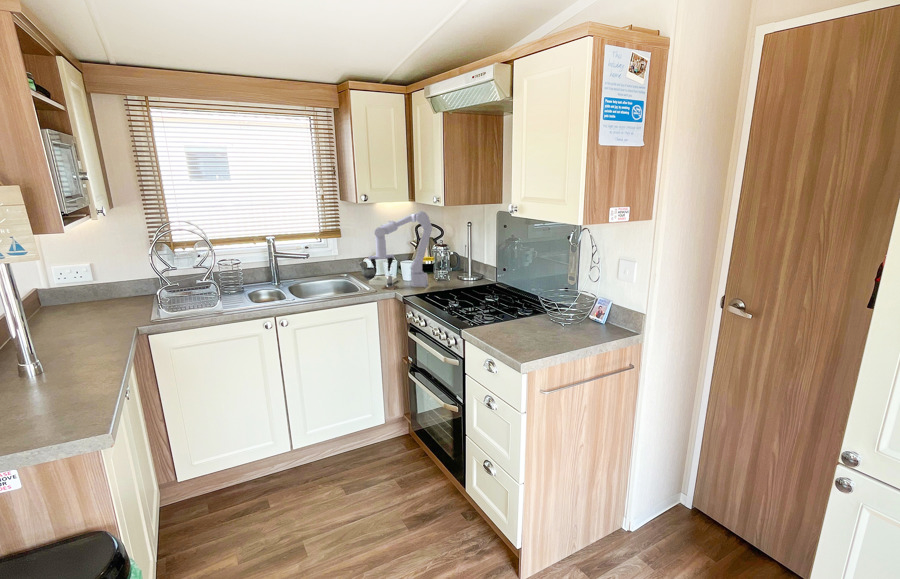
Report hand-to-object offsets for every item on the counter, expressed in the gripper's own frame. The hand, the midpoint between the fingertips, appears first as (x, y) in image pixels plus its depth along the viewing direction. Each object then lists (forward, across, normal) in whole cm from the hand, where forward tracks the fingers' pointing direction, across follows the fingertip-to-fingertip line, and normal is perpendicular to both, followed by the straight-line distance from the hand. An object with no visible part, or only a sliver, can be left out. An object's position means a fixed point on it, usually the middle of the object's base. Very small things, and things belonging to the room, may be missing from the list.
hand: (382, 271), depth 255 cm
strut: (+9, -3, +6) cm, 11 cm away
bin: (+10, -2, -11) cm, 15 cm away
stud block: (+10, -3, +6) cm, 12 cm away
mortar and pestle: (+10, +5, -30) cm, 32 cm away
